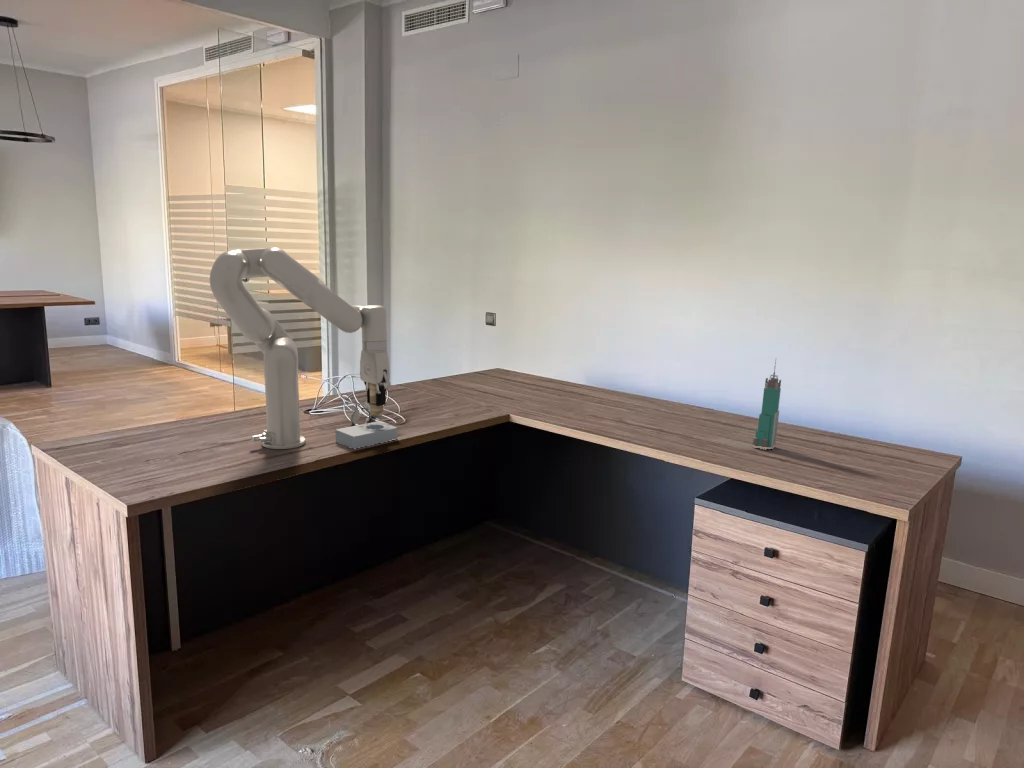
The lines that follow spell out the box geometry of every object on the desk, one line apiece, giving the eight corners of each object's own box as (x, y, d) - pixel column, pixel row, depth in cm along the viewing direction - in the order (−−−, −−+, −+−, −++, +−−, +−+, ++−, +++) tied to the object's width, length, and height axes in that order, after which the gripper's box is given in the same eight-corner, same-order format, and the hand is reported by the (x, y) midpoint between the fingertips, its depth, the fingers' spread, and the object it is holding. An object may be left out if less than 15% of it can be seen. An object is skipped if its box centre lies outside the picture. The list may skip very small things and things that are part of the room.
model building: (369, 414, 261) (363, 434, 237) (356, 402, 260) (348, 420, 235) (384, 401, 261) (378, 420, 236) (370, 388, 259) (363, 405, 235)
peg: (375, 417, 217) (373, 379, 215) (367, 414, 220) (366, 377, 218) (386, 415, 220) (385, 377, 218) (378, 412, 223) (377, 375, 221)
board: (353, 449, 211) (353, 436, 210) (335, 442, 217) (335, 429, 217) (397, 439, 222) (397, 427, 221) (379, 433, 229) (379, 421, 228)
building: (770, 451, 223) (781, 358, 217) (751, 448, 226) (761, 356, 220) (775, 447, 228) (785, 355, 222) (756, 443, 231) (765, 353, 225)
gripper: (349, 344, 219) (351, 401, 223) (380, 350, 207) (382, 411, 211) (369, 341, 224) (371, 397, 228) (401, 348, 213) (402, 406, 216)
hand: (376, 403), depth 220 cm, fingers closed on peg, 4 cm apart
